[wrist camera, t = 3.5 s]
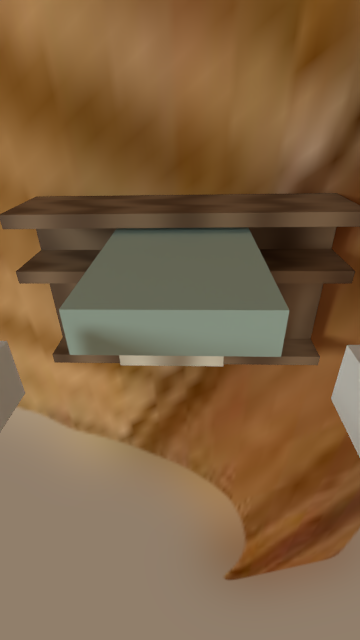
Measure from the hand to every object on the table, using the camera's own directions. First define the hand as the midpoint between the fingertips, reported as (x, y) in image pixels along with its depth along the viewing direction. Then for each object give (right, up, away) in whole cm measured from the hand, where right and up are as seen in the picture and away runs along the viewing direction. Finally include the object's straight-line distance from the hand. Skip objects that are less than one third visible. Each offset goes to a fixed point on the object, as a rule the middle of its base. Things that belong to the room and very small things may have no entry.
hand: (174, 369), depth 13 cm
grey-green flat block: (+1, +10, +15) cm, 18 cm away
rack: (+1, +6, +19) cm, 20 cm away
